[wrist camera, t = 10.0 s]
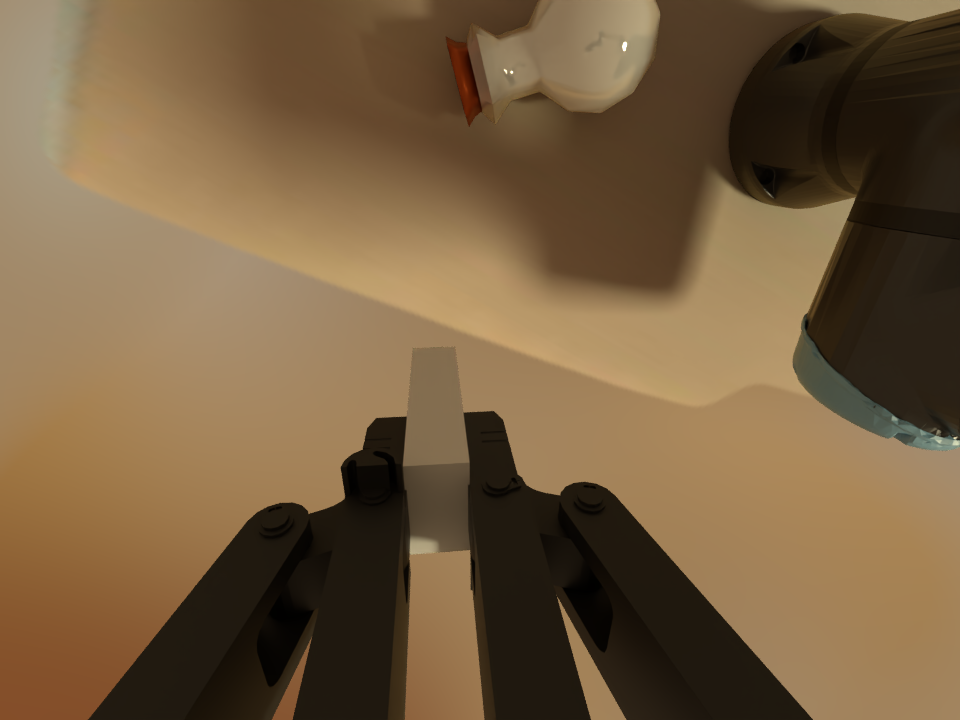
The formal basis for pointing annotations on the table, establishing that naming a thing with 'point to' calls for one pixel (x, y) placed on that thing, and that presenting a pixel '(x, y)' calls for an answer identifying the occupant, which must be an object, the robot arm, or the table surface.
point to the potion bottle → (559, 57)
